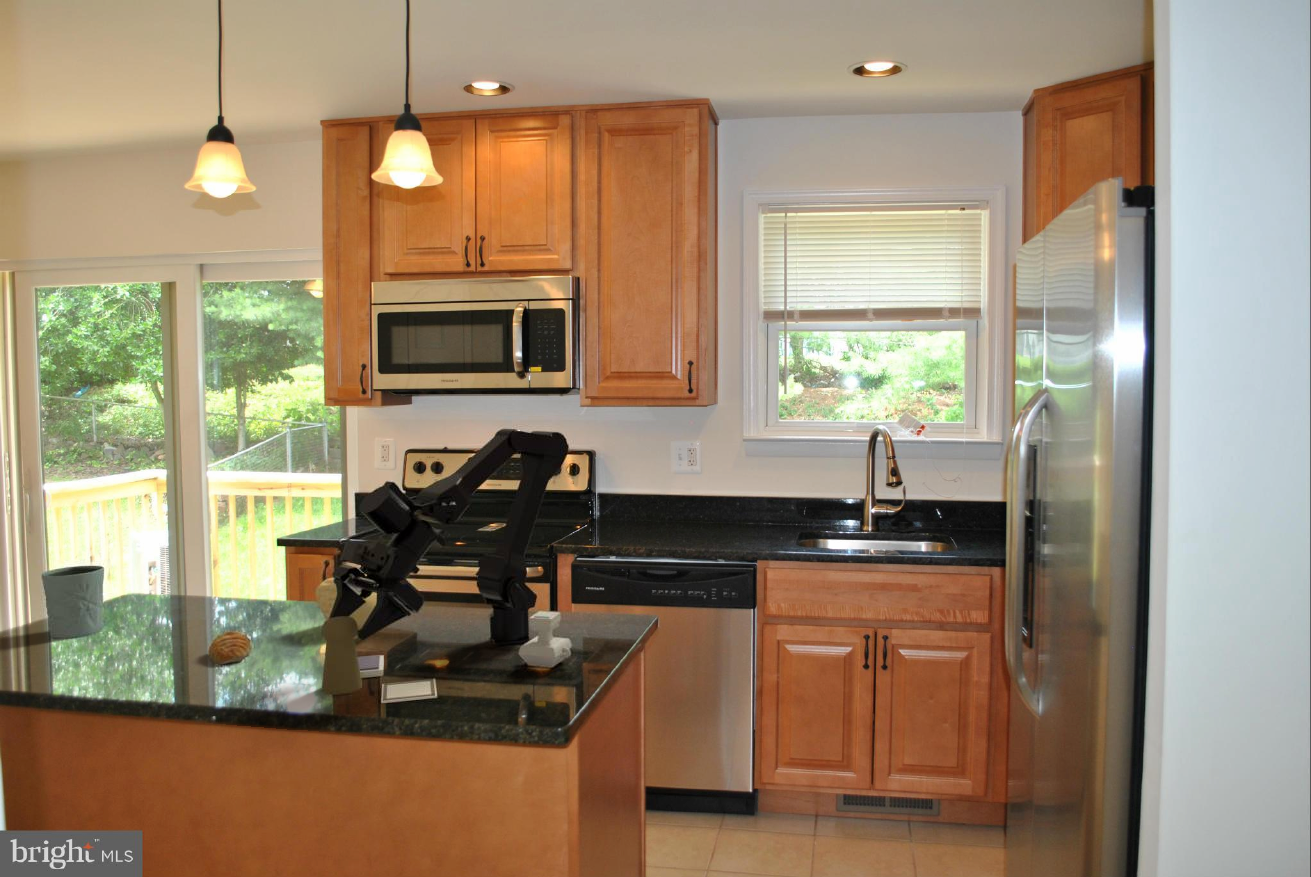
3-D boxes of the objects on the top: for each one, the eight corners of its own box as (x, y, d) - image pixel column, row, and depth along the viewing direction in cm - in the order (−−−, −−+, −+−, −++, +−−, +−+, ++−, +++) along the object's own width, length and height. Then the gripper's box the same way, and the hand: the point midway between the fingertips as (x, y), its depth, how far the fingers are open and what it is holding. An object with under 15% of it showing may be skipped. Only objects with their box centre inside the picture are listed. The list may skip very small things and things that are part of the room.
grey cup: (48, 643, 171) (44, 578, 171) (42, 631, 179) (38, 569, 178) (111, 632, 178) (108, 570, 177) (102, 622, 186) (99, 562, 185)
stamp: (512, 668, 153) (510, 617, 153) (530, 656, 159) (529, 607, 159) (562, 673, 150) (561, 621, 150) (579, 660, 157) (577, 611, 156)
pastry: (254, 663, 159) (252, 640, 158) (210, 669, 156) (208, 647, 155) (250, 648, 167) (248, 627, 167) (208, 654, 164) (206, 633, 164)
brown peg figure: (349, 695, 141) (347, 624, 140) (313, 693, 142) (310, 622, 141) (369, 682, 147) (367, 613, 146) (334, 680, 148) (332, 612, 147)
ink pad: (383, 661, 158) (383, 653, 158) (382, 675, 150) (382, 667, 150) (333, 665, 156) (333, 658, 156) (330, 680, 148) (330, 672, 148)
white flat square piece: (435, 680, 147) (435, 678, 147) (437, 697, 140) (436, 695, 140) (382, 685, 145) (382, 683, 145) (381, 703, 138) (381, 700, 138)
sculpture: (307, 630, 177) (305, 574, 176) (358, 616, 187) (356, 563, 187) (348, 639, 171) (346, 581, 170) (398, 623, 181) (396, 568, 181)
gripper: (341, 515, 154) (278, 594, 146) (405, 527, 141) (340, 613, 134) (384, 556, 160) (326, 633, 153) (450, 570, 148) (390, 655, 140)
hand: (344, 632), depth 145 cm, fingers open, 9 cm apart
